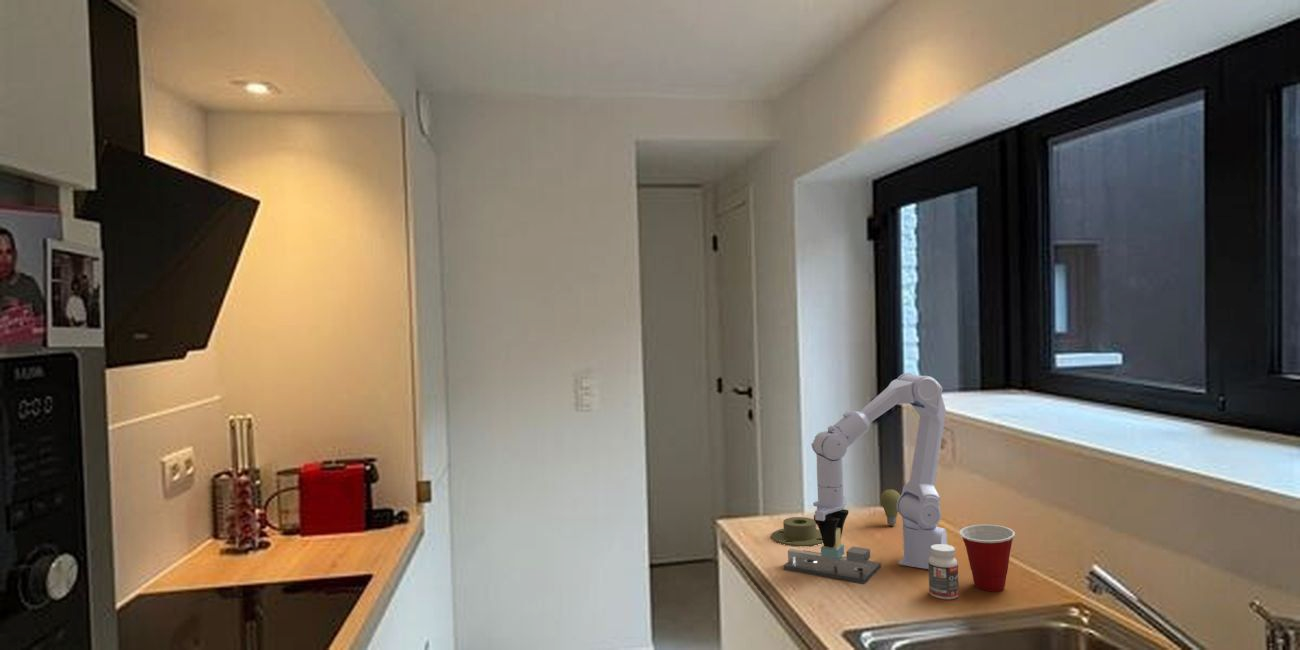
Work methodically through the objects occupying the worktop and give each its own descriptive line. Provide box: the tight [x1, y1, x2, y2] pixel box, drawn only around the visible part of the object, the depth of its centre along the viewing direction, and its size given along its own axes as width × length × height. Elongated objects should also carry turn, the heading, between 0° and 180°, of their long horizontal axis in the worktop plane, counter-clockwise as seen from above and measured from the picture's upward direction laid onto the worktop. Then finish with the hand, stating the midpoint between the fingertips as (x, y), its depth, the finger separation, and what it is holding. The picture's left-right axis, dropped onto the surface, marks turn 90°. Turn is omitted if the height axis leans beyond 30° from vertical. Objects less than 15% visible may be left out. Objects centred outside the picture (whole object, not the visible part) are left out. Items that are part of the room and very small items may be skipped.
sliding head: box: [820, 528, 845, 565], centre depth 166 cm, size 4×4×9 cm
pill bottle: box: [928, 544, 960, 600], centre depth 150 cm, size 6×6×10 cm
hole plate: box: [783, 549, 882, 585], centre depth 168 cm, size 19×12×1 cm, turn 56°
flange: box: [770, 516, 823, 547], centre depth 192 cm, size 5×15×15 cm
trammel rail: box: [787, 546, 871, 575], centre depth 166 cm, size 19×4×5 cm, turn 56°
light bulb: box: [879, 488, 901, 527], centre depth 199 cm, size 6×6×10 cm
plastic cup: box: [959, 524, 1016, 592], centre depth 154 cm, size 11×11×12 cm
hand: (832, 544), depth 166 cm, fingers open, 3 cm apart
